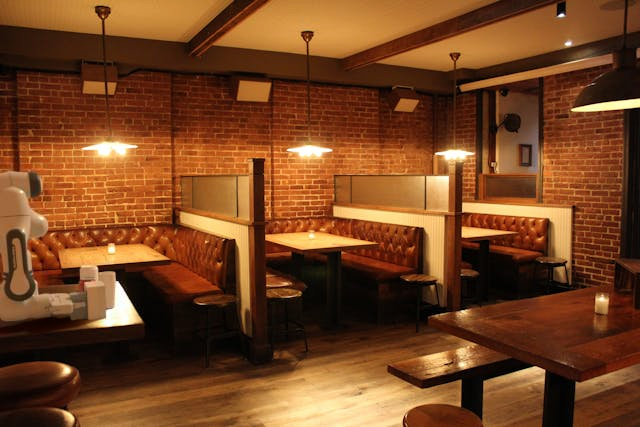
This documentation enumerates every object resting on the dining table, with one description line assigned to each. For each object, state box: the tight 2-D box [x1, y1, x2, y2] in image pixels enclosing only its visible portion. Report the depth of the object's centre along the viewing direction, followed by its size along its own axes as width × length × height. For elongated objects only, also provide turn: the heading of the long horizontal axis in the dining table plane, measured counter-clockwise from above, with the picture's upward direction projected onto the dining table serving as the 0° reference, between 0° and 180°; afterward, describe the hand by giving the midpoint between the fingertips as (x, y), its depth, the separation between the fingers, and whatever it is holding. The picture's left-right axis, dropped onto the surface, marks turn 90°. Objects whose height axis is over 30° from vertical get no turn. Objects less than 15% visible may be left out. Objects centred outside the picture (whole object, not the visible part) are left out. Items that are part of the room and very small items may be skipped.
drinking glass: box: [98, 271, 117, 310], centre depth 233 cm, size 7×7×15 cm
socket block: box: [84, 280, 107, 321], centre depth 221 cm, size 11×6×13 cm, turn 29°
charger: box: [68, 291, 88, 321], centre depth 219 cm, size 4×9×10 cm, turn 119°
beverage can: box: [79, 264, 99, 281], centre depth 266 cm, size 8×8×12 cm
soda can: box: [78, 277, 95, 292], centre depth 237 cm, size 7×7×12 cm
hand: (83, 301), depth 219 cm, fingers open, 8 cm apart
